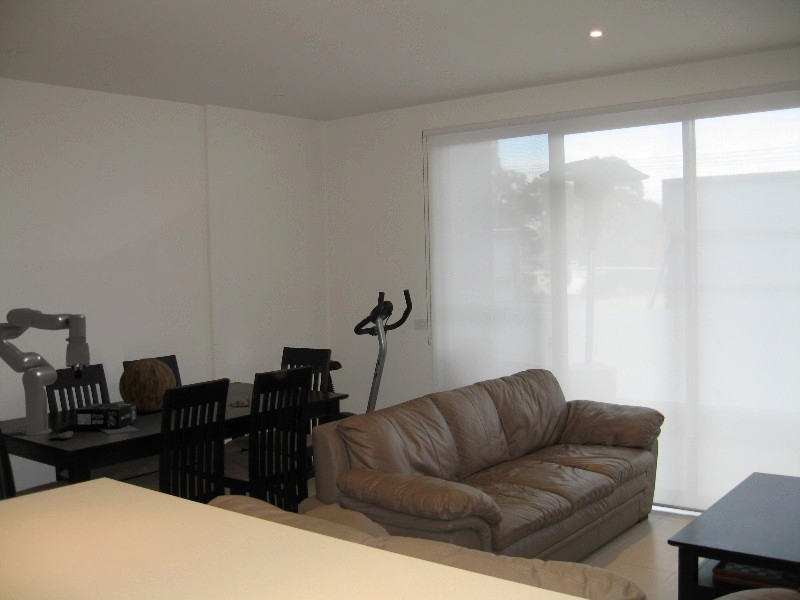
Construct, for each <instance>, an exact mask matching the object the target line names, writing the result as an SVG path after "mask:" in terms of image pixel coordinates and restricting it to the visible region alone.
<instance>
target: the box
mask: <svg viewBox="0 0 800 600" xmlns="http://www.w3.org/2000/svg"><path fill="white" fill-rule="evenodd" d="M74 411H75V412H74V414H75V415H74V416H75V417H74V418H75V419H74V420H75V429H77V430H99V429H120V428H123V427H125V426H128V425H129V426H131V425H133V424H135V423H137V422H138V421H137V420H138V417H137V414H138V411H137V410H136V403H125V402H124V403H118V402H117V403H110V402H109V403H91V404H88V405H85V406H81V407H78V408H75V410H74Z"/></svg>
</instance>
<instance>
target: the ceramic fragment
mask: <svg viewBox="0 0 800 600" xmlns="http://www.w3.org/2000/svg"><path fill="white" fill-rule="evenodd" d="M73 436H74V431H73V430H68V431H65V432H62V433H59V434H56V435H50V436H49V437H48V439H56V438H57V439H58V438H59V439H70V438H72V437H73Z"/></svg>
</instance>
